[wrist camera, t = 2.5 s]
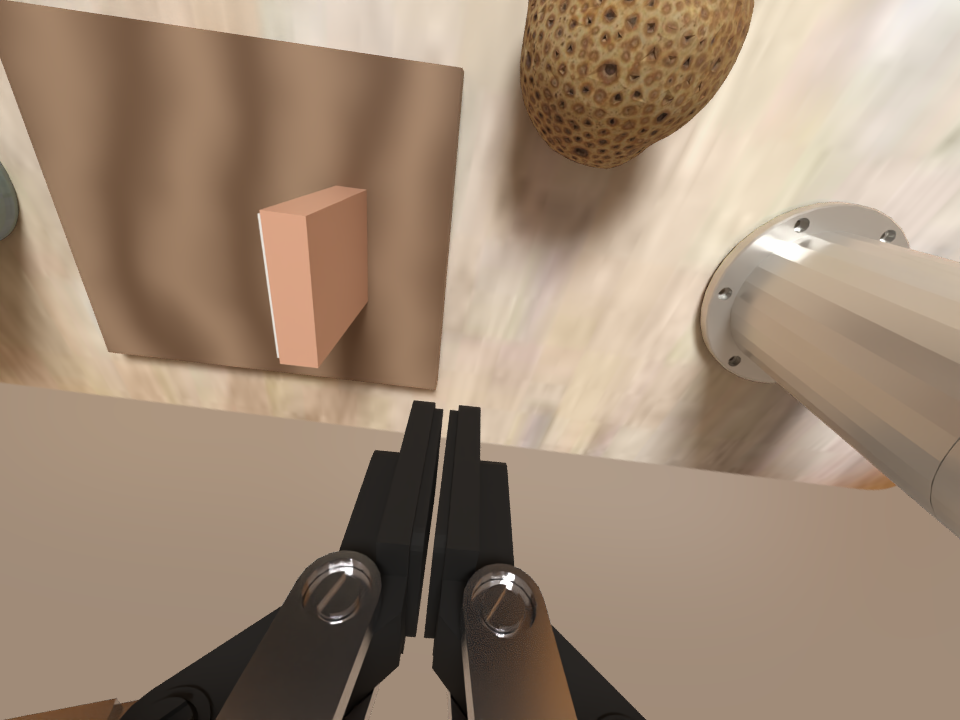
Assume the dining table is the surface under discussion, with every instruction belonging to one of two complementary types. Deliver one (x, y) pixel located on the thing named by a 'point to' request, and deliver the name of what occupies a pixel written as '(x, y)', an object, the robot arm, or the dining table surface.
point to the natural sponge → (624, 70)
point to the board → (235, 180)
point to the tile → (315, 270)
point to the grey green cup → (7, 204)
